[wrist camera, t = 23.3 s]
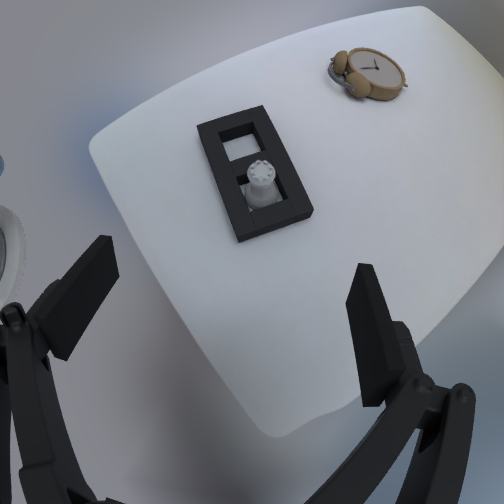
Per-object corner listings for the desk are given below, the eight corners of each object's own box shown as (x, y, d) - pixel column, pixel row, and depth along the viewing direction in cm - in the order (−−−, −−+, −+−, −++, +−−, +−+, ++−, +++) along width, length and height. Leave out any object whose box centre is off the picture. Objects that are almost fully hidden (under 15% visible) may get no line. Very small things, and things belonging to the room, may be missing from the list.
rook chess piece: (279, 209, 42) (284, 184, 34) (246, 213, 42) (244, 189, 34) (274, 180, 43) (277, 150, 35) (242, 183, 43) (239, 155, 35)
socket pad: (238, 243, 41) (237, 236, 38) (199, 136, 45) (196, 125, 42) (310, 217, 41) (314, 209, 38) (262, 116, 45) (262, 104, 42)
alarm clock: (417, 89, 43) (352, 86, 40) (404, 105, 48) (341, 105, 45) (386, 48, 46) (321, 42, 42) (376, 64, 50) (313, 61, 47)
